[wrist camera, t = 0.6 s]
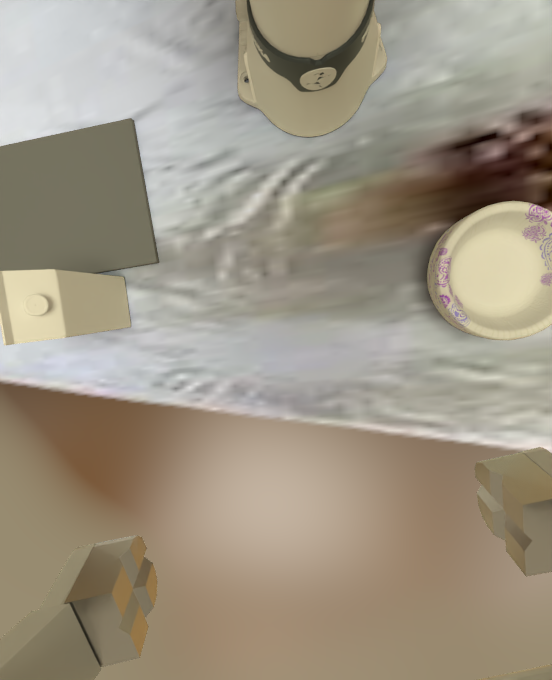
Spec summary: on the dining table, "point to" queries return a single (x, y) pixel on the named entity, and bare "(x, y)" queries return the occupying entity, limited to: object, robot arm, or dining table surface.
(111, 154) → the mat
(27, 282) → the milk carton
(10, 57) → the dining table surface
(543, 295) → the paper bowls
